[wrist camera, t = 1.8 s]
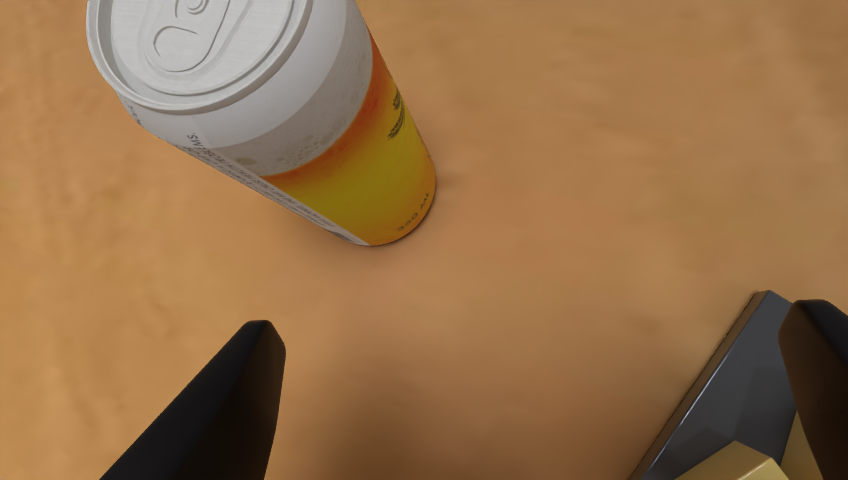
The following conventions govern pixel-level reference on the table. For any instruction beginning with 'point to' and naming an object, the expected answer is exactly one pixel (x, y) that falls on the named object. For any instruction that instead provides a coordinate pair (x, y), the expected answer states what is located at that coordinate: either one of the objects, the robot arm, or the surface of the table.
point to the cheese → (737, 412)
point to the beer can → (273, 104)
